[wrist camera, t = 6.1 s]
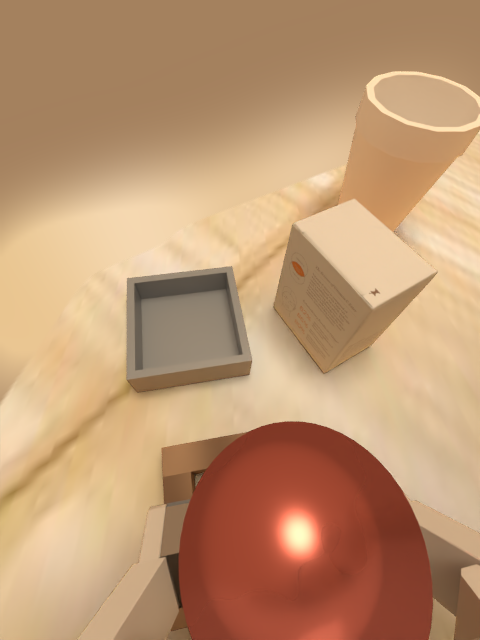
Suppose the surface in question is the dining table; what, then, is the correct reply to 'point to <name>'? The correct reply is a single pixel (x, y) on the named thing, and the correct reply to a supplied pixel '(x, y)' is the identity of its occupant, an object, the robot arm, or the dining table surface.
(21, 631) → the dining table surface
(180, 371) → the tray
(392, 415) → the dining table surface
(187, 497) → the wooden square frame
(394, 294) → the small box
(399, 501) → the red-lidded jar
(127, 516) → the dining table surface
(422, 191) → the foam cup
